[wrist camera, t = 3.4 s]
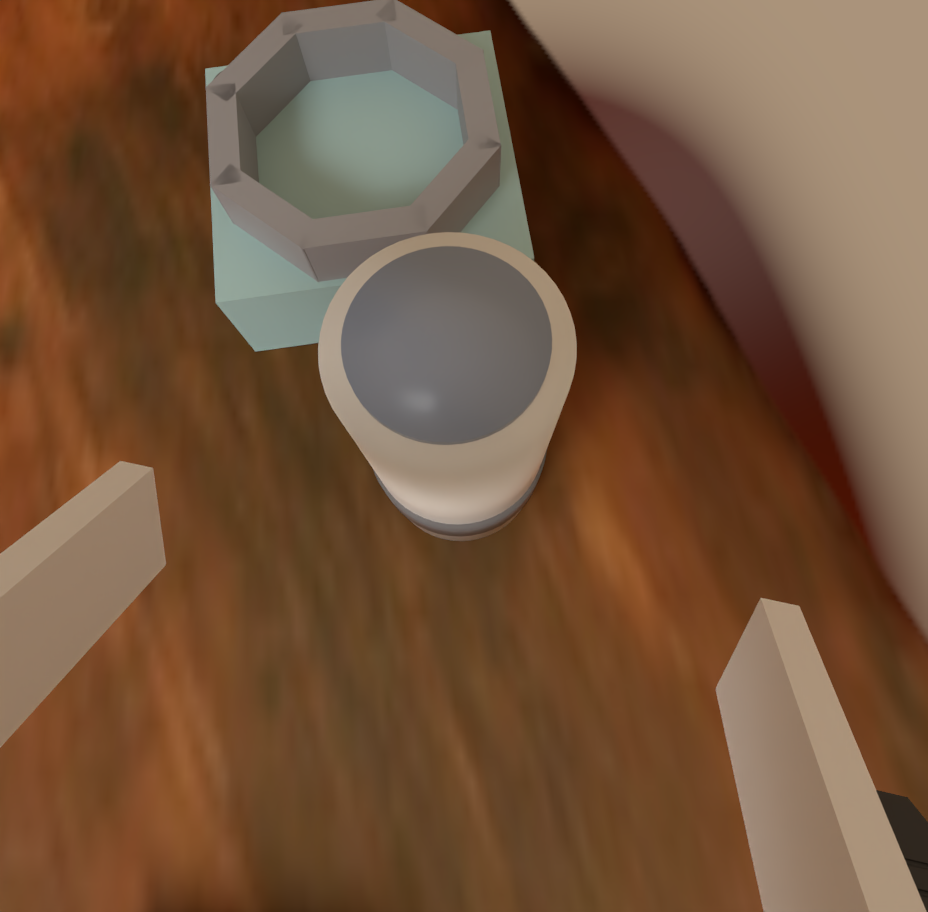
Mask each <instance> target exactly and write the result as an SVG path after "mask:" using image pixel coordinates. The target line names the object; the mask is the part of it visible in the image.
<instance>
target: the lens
mask: <svg viewBox="0 0 928 912" xmlns="http://www.w3.org/2000/svg"><path fill="white" fill-rule="evenodd" d="M576 359H577V341H576V334H575V327H574V323H573V320H572V316H571V313H570V310H569V308H568V306H567V303H566V301H565V299H564V297H563V295H562V294H561V292H560V290H559V289H558V287H557V286H556V284H555V283H554V282H553V280H552V279H551V278H550V277H549V276H548V274H547V273H546V272H545V271H544V270H543V269H542V268H541V267H540V266H539V265H537V264H536V263H535V262H534V261H533V260H531V259H530V258H529V257H527V256H526V255H525V254H523V253H522V252H520V251H518V250H516V249H514V248H513V247H511V246H509V245H507V244H504V243H502V242H499V241H497V240H494V239H491V238H487V237H484V236H480V235H475V234H468V233H459V232H441V233H430V234H425V235H420V236H415V237H412V238H408V239H405V240H402V241H399V242H397V243H395V244H393V245H390V246H388V247H386V248H384V249H382V250H381V251H379V252H377V253H376V254H374V255H372V256H371V257H370V258H368V259H367V260H366V261H364V262H363V263H362V264H361V265H359V266H358V267H357V268H356V269H355V270H354V271H353V272H352V273H351V274H350V275H349V276H348V277H347V279H346V280H345V281H344V282H343V284H342V285H341V286H340V288H339V289H338V290H337V292H336V294H335V295H334V297H333V299H332V301H331V302H330V304H329V307H328V309H327V312H326V314H325V316H324V319H323V323H322V327H321V331H320V337H319V345H318V364H319V370H320V377H321V381H322V384H323V387H324V391H325V394H326V396H327V398H328V400H329V402H330V404H331V406H332V409H333V410H334V412H335V413H336V415H337V416H338V418H339V419H340V421H341V422H342V424H343V425H344V427H345V428H346V429H347V431H348V432H349V434H350V435H351V437H352V438H353V440H354V441H355V443H356V444H357V446H358V447H359V449H360V450H361V452H362V453H363V455H364V456H365V457H366V459H367V460H368V462H369V463H370V465H371V466H372V468H373V470H374V473H375V475H376V477H377V480H378V482H379V484H380V485H381V487H382V488H383V490H384V491H385V493H386V494H387V496H388V497H389V498H390V500H391V501H392V503H393V504H394V505H395V506H396V508H397V509H398V510H399V511H400V512H401V513H402V514H403V515H404V516H405V517H406V518H408V519H409V520H410V521H411V522H412V523H413V524H414V525H416V526H417V527H418V528H420V529H421V530H423V531H424V532H426V533H428V534H431V535H433V536H435V537H438V538H441V539H446V540H451V541H470V540H476V539H480V538H483V537H486V536H489V535H491V534H493V533H495V532H497V531H499V530H501V529H502V528H504V527H505V526H506V525H508V524H509V523H510V522H511V521H512V520H513V519H514V518H515V517H516V516H517V515H518V513H519V512H520V511H521V509H522V508H523V506H524V505H525V504H526V503H527V501H528V499H529V498H530V496H531V495H532V493H533V491H534V489H535V486H536V484H537V482H538V479H539V477H540V474H541V472H542V469H543V466H544V462H545V458H546V452H547V447H548V445H549V442H550V439H551V437H552V434H553V431H554V429H555V426H556V424H557V421H558V418H559V416H560V413H561V410H562V408H563V405H564V403H565V400H566V397H567V395H568V392H569V389H570V386H571V383H572V380H573V376H574V372H575V365H576Z"/></svg>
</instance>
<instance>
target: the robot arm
mask: <svg viewBox="0 0 928 912" xmlns="http://www.w3.org/2000/svg"><path fill="white" fill-rule="evenodd" d="M165 565H166V560H165V553H164V545H163V538H162V530H161V523H160V516H159V508H158V501H157V493H156V486H155V479H154V471H153V468H151V467H146V466H142V465H137V464H132V463H128V462H123V461H120V462H118V463H117V464H116V465H115V466H113V467H112V468H111V469H109V470H108V471H107V472H106V473H104V474H103V475H102V476H100V477H99V478H98V479H96V480H95V481H94V482H93V483H91V484H90V485H89V486H87V487H86V488H85V489H84V490H82V491H81V492H80V493H78V494H77V495H76V496H75V497H73V498H72V499H71V500H69V501H68V502H67V503H65V504H64V505H63V506H62V507H60V508H59V509H58V510H56V511H55V512H54V513H53V514H51V515H50V516H49V517H47V518H46V519H45V520H44V521H42V522H41V523H40V524H38V525H37V526H36V527H34V528H33V529H32V530H31V531H29V532H28V533H27V534H25V535H24V536H23V537H22V538H20V539H19V540H18V541H16V542H15V543H14V544H13V545H11V546H10V547H9V548H7V549H6V550H5V551H3V552H2V553H1V554H0V747H1V746H2V745H3V744H4V743H5V742H6V741H7V740H8V738H9V737H10V736H11V735H12V734H13V733H14V732H15V731H16V730H17V728H18V727H19V726H20V725H21V724H22V723H23V722H24V721H25V720H26V719H27V717H28V716H29V715H30V714H31V713H32V712H33V711H34V710H35V709H36V708H37V706H38V705H39V704H40V703H41V702H42V701H43V700H44V699H45V698H46V697H47V695H48V694H49V693H50V692H51V691H52V690H53V689H54V688H55V687H56V685H57V684H58V683H59V682H60V681H61V680H62V679H63V678H64V677H65V676H66V674H67V673H68V672H69V671H70V670H71V669H72V668H73V667H74V666H75V665H76V663H77V662H78V661H79V660H80V659H81V658H82V657H83V656H84V655H85V653H86V652H87V651H88V650H89V649H90V648H91V647H92V646H93V645H94V644H95V642H96V641H97V640H98V639H99V638H100V637H101V636H102V635H103V634H104V633H105V631H106V630H107V629H108V628H109V627H110V626H111V625H112V624H113V623H114V621H115V620H116V619H117V618H118V617H119V616H120V615H121V614H122V613H123V612H124V610H125V609H126V608H127V607H128V606H129V605H130V604H131V603H132V602H133V601H134V599H135V598H136V597H137V596H138V595H139V594H140V593H141V592H142V591H143V589H144V588H145V587H146V586H147V585H148V584H149V583H150V582H151V581H152V580H153V578H154V577H155V576H156V575H157V574H158V573H159V572H160V571H161V570H162V569H163V567H164V566H165ZM716 693H717V698H718V702H719V707H720V712H721V716H722V721H723V726H724V730H725V735H726V739H727V744H728V749H729V753H730V758H731V763H732V767H733V772H734V776H735V781H736V786H737V790H738V795H739V800H740V804H741V809H742V814H743V818H744V823H745V827H746V832H747V837H748V841H749V846H750V851H751V855H752V860H753V864H754V869H755V874H756V878H757V883H758V888H759V892H760V897H761V901H762V906H763V911H764V912H928V822H927V821H926V820H925V818H924V817H923V816H922V815H921V814H920V812H919V811H918V810H917V809H916V807H915V806H914V805H913V804H912V802H911V801H910V800H909V799H908V797H903V796H899V795H895V794H891V793H886V792H882V791H878V790H876V789H875V787H874V784H873V782H872V780H871V777H870V775H869V772H868V770H867V768H866V765H865V763H864V760H863V758H862V755H861V753H860V751H859V748H858V746H857V743H856V741H855V739H854V736H853V734H852V731H851V729H850V727H849V724H848V722H847V719H846V717H845V715H844V712H843V710H842V707H841V705H840V703H839V700H838V698H837V695H836V693H835V691H834V688H833V686H832V683H831V681H830V679H829V676H828V674H827V671H826V669H825V667H824V664H823V662H822V659H821V657H820V655H819V652H818V650H817V647H816V645H815V643H814V640H813V638H812V635H811V633H810V631H809V628H808V626H807V623H806V621H805V619H804V616H803V614H802V611H801V609H800V607H799V606H797V605H792V604H788V603H783V602H778V601H774V600H769V599H764V598H760V600H759V602H758V604H757V606H756V608H755V610H754V612H753V614H752V616H751V618H750V620H749V622H748V624H747V626H746V628H745V630H744V632H743V635H742V637H741V639H740V641H739V643H738V645H737V647H736V649H735V651H734V653H733V655H732V657H731V659H730V661H729V663H728V665H727V667H726V669H725V671H724V673H723V675H722V677H721V679H720V681H719V683H718V685H717V687H716Z"/></svg>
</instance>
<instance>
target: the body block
mask: <svg viewBox="0 0 928 912" xmlns="http://www.w3.org/2000/svg"><path fill="white" fill-rule="evenodd" d="M205 75H206V101H207V124H208V146H209V169H210V187H211V209H212V232H213V254H214V276H215V299H216V304H217V305H218V306H219V307H220V309H221V310H222V311H223V312H224V314H225V315H226V316H227V317H228V318H229V320H230V321H231V322H232V323H233V325H234V326H235V327H236V328H237V329H238V331H239V332H240V333H241V334H242V336H243V337H244V338H245V339H246V340H247V342H248V343H249V344H250V345H251V347H252V348H253V349H254V350H255V351H263V350H270V349H277V348H284V347H292V346H299V345H306V344H313V343H319V337H320V331H321V327H322V323H323V319H324V316H325V314H326V312H327V309H328V307H329V304H330V302H331V301H332V299H333V297H334V295H335V294H336V292H337V290H338V289H339V288H340V286H341V285H342V284H343V282H344V281H345V280H346V279H347V277H348V276H349V275H350V274H351V273H352V272H353V271H354V270H355V269H356V268H357V267H358V266H359V265H361V264H362V263H363V262H364V261H366V260H367V259H368V258H370V257H371V256H372V255H374V254H376V253H377V252H379V251H381V250H382V249H384V248H386V247H388V246H390V245H393V244H395V243H397V242H399V241H402V240H405V239H408V238H412V237H415V236H420V235H425V234H430V233H441V232H459V233H468V234H475V235H480V236H484V237H487V238H491V239H494V240H497V241H499V242H502V243H504V244H507V245H509V246H511V247H513V248H514V249H516V250H518V251H520V252H522V253H523V254H525V255H526V256H527V257H529V258H530V259H531V260H533V261H534V254H533V249H532V243H531V238H530V233H529V228H528V223H527V218H526V212H525V207H524V202H523V197H522V192H521V187H520V181H519V176H518V171H517V166H516V161H515V156H514V150H513V145H512V140H511V135H510V130H509V125H508V119H507V114H506V109H505V104H504V99H503V94H502V88H501V83H500V78H499V73H498V68H497V63H496V57H495V52H494V47H493V42H492V37H491V32H490V30H489V31H482V32H475V33H467V34H460V35H456V34H455V33H453V32H451V31H449V30H448V29H446V28H444V27H442V26H441V25H439V24H437V23H435V22H434V21H432V20H430V19H429V18H427V17H425V16H423V15H422V14H420V13H418V12H416V11H415V10H413V9H411V8H410V7H408V6H406V5H404V4H403V3H401V2H399V1H397V0H374V1H366V2H359V3H351V4H344V5H336V6H329V7H321V8H314V9H306V10H299V11H291V12H284V13H283V12H282V13H281V14H280V15H279V16H278V17H277V18H276V19H275V20H274V21H273V22H272V23H271V24H270V25H269V26H268V27H267V28H266V29H265V30H264V31H263V32H262V33H261V34H260V35H259V36H258V37H257V38H256V39H255V40H254V41H253V42H252V43H251V44H250V45H248V46H247V47H246V48H245V49H244V50H243V51H242V52H241V53H240V54H239V55H238V56H237V57H236V58H235V59H234V60H233V61H232V62H231V63H230V64H229V65H228V66H222V67H214V68H207V69H205Z"/></svg>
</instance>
